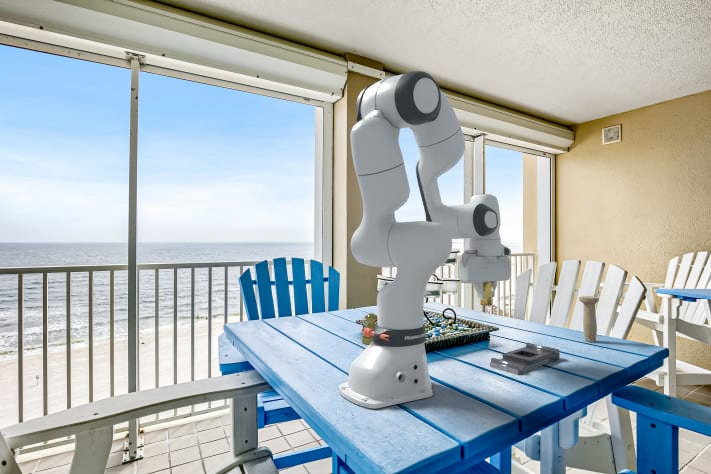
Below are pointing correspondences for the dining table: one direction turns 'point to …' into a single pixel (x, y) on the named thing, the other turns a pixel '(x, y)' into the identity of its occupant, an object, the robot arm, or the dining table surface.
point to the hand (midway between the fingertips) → (486, 297)
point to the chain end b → (532, 354)
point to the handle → (589, 317)
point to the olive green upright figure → (371, 325)
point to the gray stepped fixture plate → (514, 365)
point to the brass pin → (487, 294)
